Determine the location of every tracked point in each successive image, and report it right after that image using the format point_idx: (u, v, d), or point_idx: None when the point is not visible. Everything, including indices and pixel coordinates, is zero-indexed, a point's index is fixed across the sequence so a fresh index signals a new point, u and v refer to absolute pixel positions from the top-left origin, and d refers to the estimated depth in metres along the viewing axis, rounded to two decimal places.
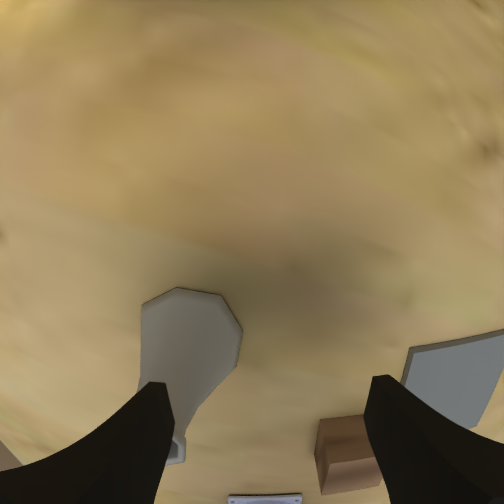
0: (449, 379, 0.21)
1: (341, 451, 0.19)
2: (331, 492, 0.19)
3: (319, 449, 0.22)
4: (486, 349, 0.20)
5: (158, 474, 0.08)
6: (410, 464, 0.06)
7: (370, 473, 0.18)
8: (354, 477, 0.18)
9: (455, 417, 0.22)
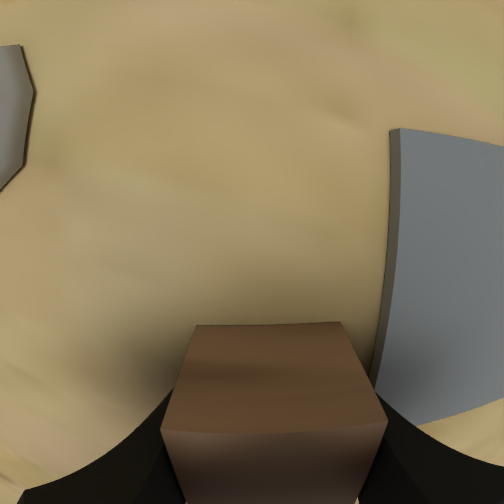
0: (498, 240, 0.09)
1: (211, 400, 0.07)
2: None
3: None
4: None
5: None
6: (376, 472, 0.06)
7: (316, 484, 0.06)
8: (269, 492, 0.06)
9: None
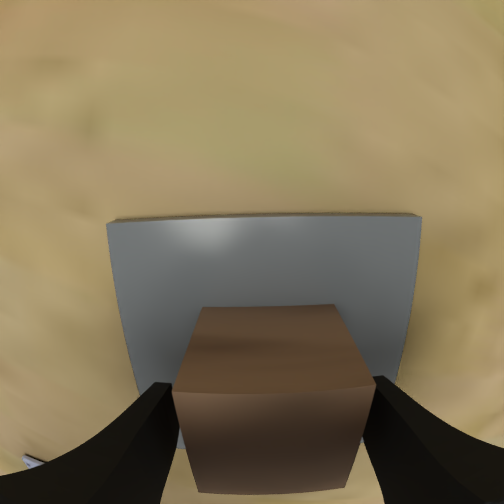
0: None
1: (217, 367, 0.08)
2: (221, 490, 0.08)
3: None
4: (325, 246, 0.11)
5: (164, 475, 0.08)
6: (403, 466, 0.06)
7: (312, 450, 0.07)
8: (269, 458, 0.08)
9: None
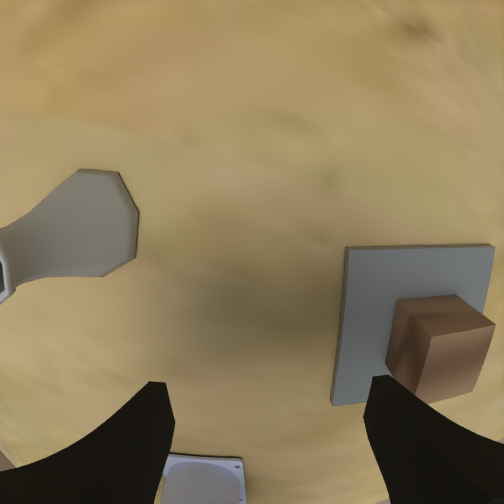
0: None
1: (437, 324, 0.15)
2: None
3: (399, 343, 0.18)
4: (455, 263, 0.18)
5: (158, 474, 0.08)
6: (410, 464, 0.06)
7: (469, 363, 0.14)
8: (453, 370, 0.14)
9: None
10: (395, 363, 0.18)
